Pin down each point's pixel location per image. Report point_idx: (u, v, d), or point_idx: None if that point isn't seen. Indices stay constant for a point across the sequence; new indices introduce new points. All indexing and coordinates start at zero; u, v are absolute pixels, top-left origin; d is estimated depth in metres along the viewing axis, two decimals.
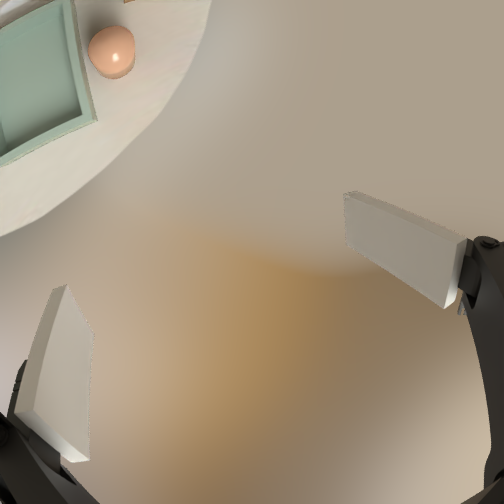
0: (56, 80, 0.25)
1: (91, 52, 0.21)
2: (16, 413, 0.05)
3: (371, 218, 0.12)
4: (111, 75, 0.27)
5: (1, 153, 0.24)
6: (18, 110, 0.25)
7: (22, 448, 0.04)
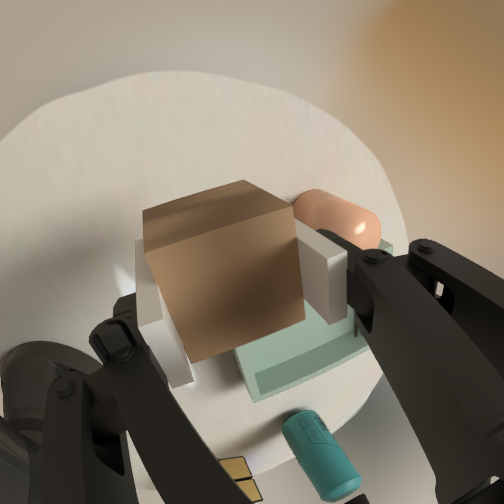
0: None
1: None
2: (140, 327, 0.07)
3: None
4: None
5: None
6: None
7: (148, 366, 0.06)
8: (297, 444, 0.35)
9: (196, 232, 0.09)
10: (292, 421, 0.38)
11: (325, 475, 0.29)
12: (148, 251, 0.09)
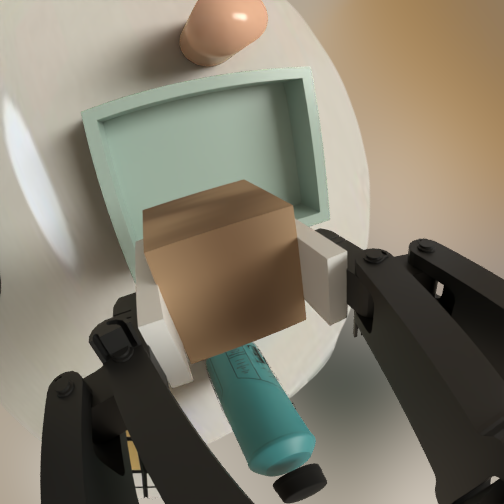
0: (221, 124, 0.23)
1: (236, 40, 0.15)
2: (140, 327, 0.07)
3: None
4: None
5: (309, 211, 0.27)
6: None
7: (148, 366, 0.06)
8: (220, 381, 0.27)
9: (196, 232, 0.09)
10: None
11: (252, 426, 0.21)
12: (148, 251, 0.09)
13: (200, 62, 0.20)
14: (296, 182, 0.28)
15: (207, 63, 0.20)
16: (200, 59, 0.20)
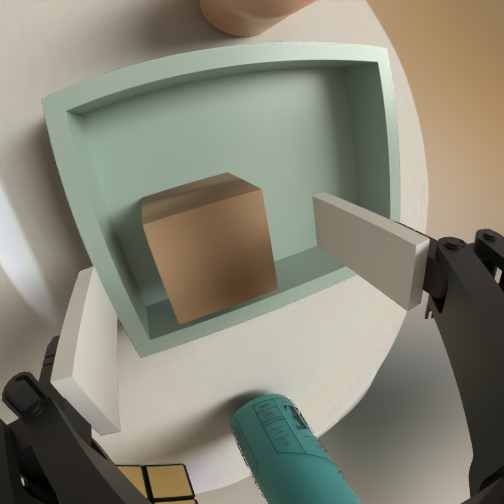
0: (261, 119, 0.16)
1: None
2: (52, 382, 0.06)
3: (337, 219, 0.12)
4: None
5: None
6: (296, 210, 0.19)
7: (58, 419, 0.05)
8: (253, 453, 0.20)
9: (184, 210, 0.11)
10: (245, 412, 0.23)
11: None
12: (146, 224, 0.11)
13: (231, 28, 0.13)
14: (354, 203, 0.20)
15: (241, 30, 0.13)
16: (232, 23, 0.12)
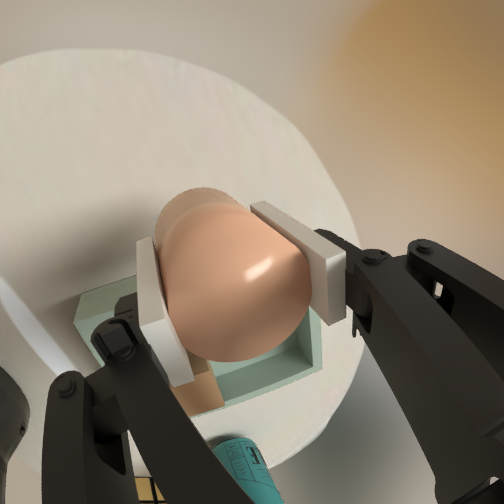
0: None
1: (254, 350, 0.11)
2: (142, 326, 0.07)
3: None
4: None
5: (303, 362, 0.28)
6: None
7: (149, 365, 0.06)
8: None
9: None
10: (220, 449, 0.31)
11: None
12: None
13: None
14: (293, 331, 0.29)
15: None
16: None
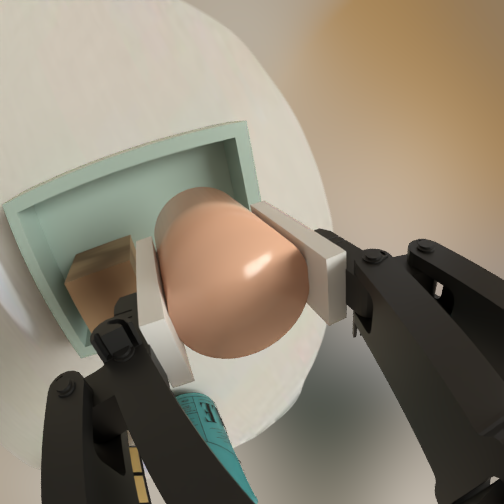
0: (151, 194, 0.22)
1: (252, 346, 0.11)
2: (141, 326, 0.07)
3: None
4: None
5: None
6: None
7: (149, 366, 0.06)
8: None
9: (86, 274, 0.17)
10: None
11: None
12: (66, 282, 0.17)
13: None
14: None
15: None
16: None
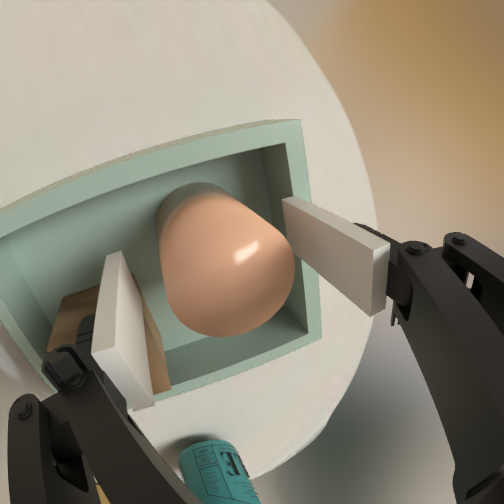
0: None
1: (242, 326, 0.12)
2: (93, 353, 0.07)
3: (303, 223, 0.13)
4: None
5: (294, 328, 0.19)
6: None
7: (99, 392, 0.06)
8: None
9: (74, 338, 0.12)
10: (187, 454, 0.23)
11: None
12: (49, 348, 0.11)
13: None
14: None
15: None
16: None
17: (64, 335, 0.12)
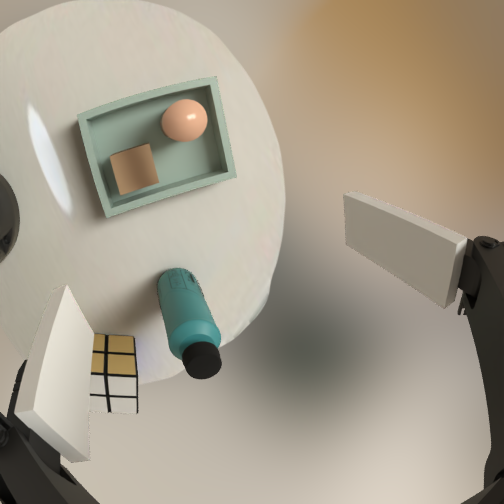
0: None
1: (188, 138, 0.31)
2: (16, 413, 0.05)
3: (371, 218, 0.12)
4: None
5: (222, 172, 0.39)
6: (182, 158, 0.39)
7: (22, 448, 0.04)
8: (161, 294, 0.39)
9: (123, 151, 0.31)
10: (163, 275, 0.42)
11: (173, 315, 0.33)
12: (110, 156, 0.31)
13: (173, 139, 0.36)
14: (216, 154, 0.40)
15: None
16: (172, 139, 0.35)
17: (117, 153, 0.31)
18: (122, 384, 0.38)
